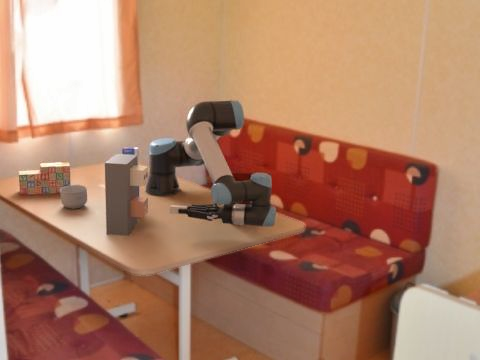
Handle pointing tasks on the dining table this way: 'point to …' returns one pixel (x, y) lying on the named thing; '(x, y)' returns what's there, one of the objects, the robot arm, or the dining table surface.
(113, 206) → the button post
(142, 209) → the lower button
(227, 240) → the dining table surface
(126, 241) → the dining table surface
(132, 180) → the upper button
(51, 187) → the stack of blocks
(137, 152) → the walkman
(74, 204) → the teacup
